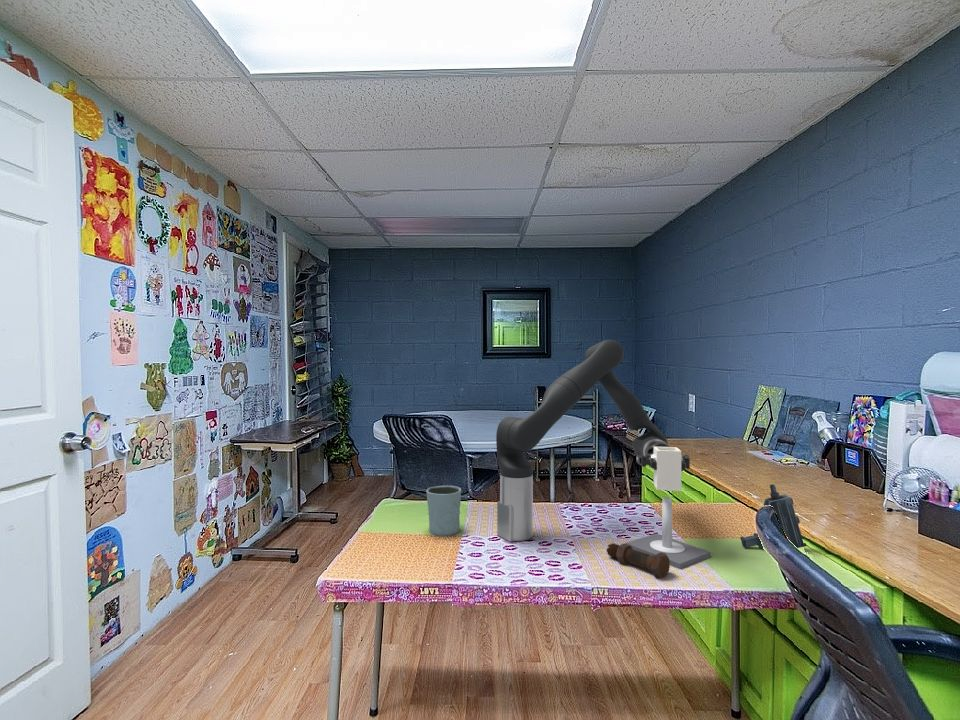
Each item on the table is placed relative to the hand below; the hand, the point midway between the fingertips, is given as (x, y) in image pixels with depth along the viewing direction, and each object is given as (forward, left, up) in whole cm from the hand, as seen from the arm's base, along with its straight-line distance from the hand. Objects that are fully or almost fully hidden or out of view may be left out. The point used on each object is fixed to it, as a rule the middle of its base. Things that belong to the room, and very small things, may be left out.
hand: (668, 466), depth 125 cm
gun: (+27, -12, -23) cm, 37 cm away
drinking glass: (-38, +48, -23) cm, 65 cm away
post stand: (+2, +2, -23) cm, 23 cm away
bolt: (-12, +1, -23) cm, 26 cm away
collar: (+2, +2, -6) cm, 6 cm away
